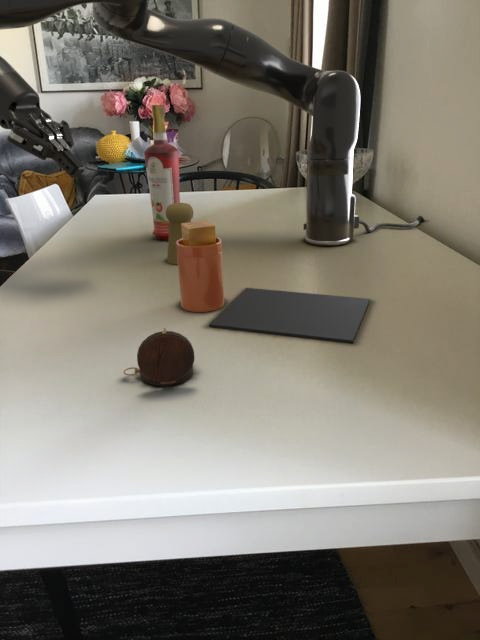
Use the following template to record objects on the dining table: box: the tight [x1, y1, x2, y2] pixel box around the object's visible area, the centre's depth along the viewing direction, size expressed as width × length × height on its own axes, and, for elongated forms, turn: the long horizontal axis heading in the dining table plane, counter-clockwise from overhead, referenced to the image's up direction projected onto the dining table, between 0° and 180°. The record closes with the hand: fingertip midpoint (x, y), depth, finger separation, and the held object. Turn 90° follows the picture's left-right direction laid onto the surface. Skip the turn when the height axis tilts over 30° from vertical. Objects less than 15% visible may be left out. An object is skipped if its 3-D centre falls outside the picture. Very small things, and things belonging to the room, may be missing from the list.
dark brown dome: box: [122, 327, 196, 386], centre depth 64 cm, size 8×8×7 cm
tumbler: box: [176, 236, 225, 313], centre depth 85 cm, size 7×7×10 cm
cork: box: [166, 202, 194, 266], centre depth 108 cm, size 6×6×11 cm
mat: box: [208, 287, 371, 344], centre depth 83 cm, size 20×16×1 cm
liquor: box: [143, 104, 181, 241], centre depth 122 cm, size 7×7×28 cm
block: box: [181, 220, 217, 247], centre depth 83 cm, size 4×4×4 cm
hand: (79, 173), depth 87 cm, fingers closed
